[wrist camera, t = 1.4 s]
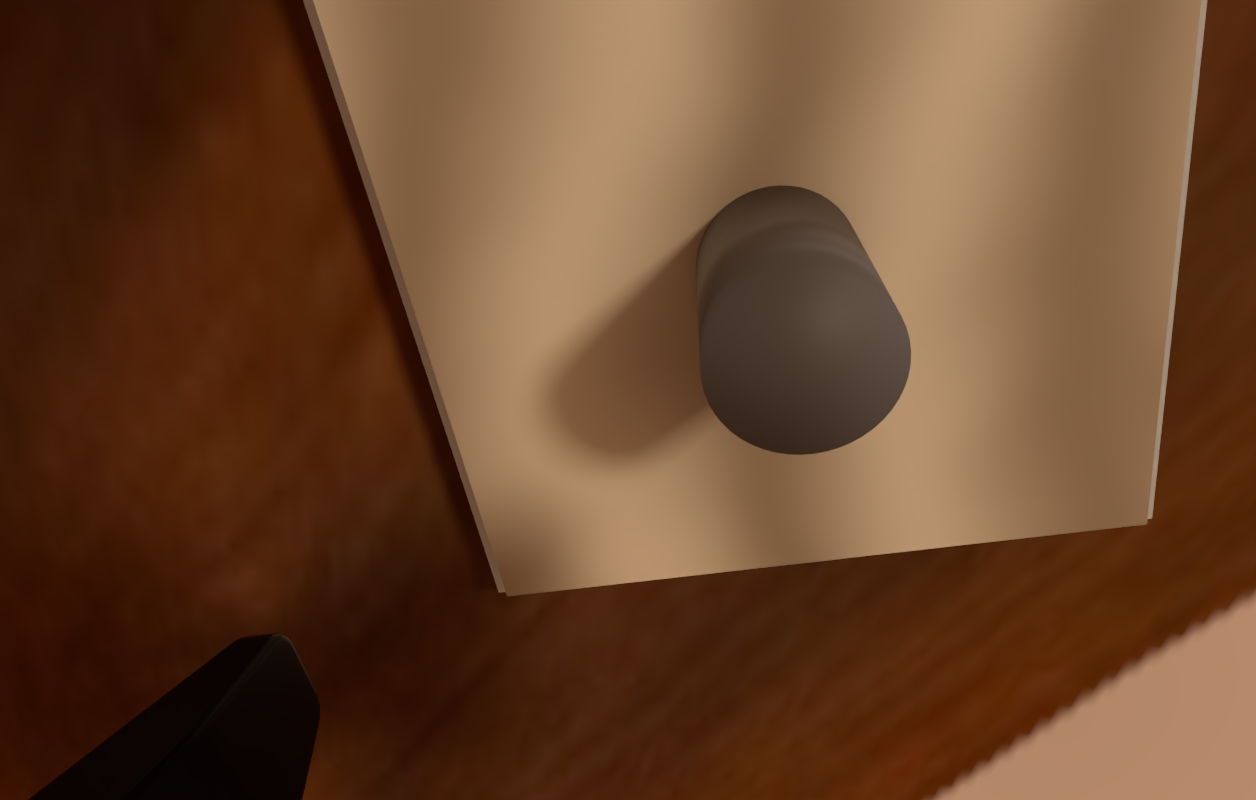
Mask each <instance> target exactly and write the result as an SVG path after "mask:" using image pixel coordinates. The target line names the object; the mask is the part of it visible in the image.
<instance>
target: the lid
mask: <svg viewBox="0 0 1256 800" xmlns="http://www.w3.org/2000/svg"><path fill="white" fill-rule="evenodd" d="M313 2H314V5H315V8H316V11H317V14H318V17H319V20H320V23H321V26H322V29H323V32H324V36H325V39H326V42H327V45H328V48H329V51H330V54H331V57H332V60H333V63H334V66H335V69H336V72H337V75H338V79H339V82H340V85H341V88H342V91H343V94H344V97H345V100H346V103H347V106H348V109H349V112H350V115H351V118H352V122H353V125H354V128H355V131H356V134H357V137H358V140H359V143H360V146H361V149H362V152H363V155H364V158H365V161H366V165H367V168H368V171H369V174H370V177H371V180H372V183H373V186H374V189H375V192H376V195H377V198H378V201H379V204H380V208H381V211H382V214H383V217H384V220H385V223H386V226H387V229H388V232H389V235H390V238H391V241H392V244H393V247H394V251H395V254H396V257H397V260H398V263H399V266H400V269H401V272H402V275H403V278H404V281H405V284H406V287H407V290H408V294H409V297H410V300H411V303H412V306H413V309H414V312H415V315H416V318H417V321H418V324H419V327H420V330H421V333H422V337H423V340H424V343H425V346H426V349H427V352H428V355H429V358H430V361H431V364H432V367H433V370H434V373H435V376H436V380H437V383H438V386H439V389H440V392H441V395H442V398H443V401H444V404H445V407H446V410H447V413H448V416H449V419H450V423H451V426H452V429H453V432H454V435H455V438H456V441H457V444H458V447H459V450H460V453H461V456H462V459H463V462H464V466H465V469H466V472H467V475H468V478H469V481H470V484H471V487H472V490H473V493H474V496H475V499H476V502H477V505H478V509H479V512H480V515H481V518H482V521H483V524H484V527H485V530H486V533H487V536H488V539H489V542H490V545H491V549H492V552H493V555H494V558H495V561H496V564H497V567H498V570H499V573H500V576H501V579H502V582H503V585H504V588H505V592H506V595H507V596H516V595H525V594H533V593H542V592H551V591H560V590H569V589H578V588H587V587H595V586H604V585H613V584H622V583H631V582H640V581H649V580H657V579H666V578H675V577H684V576H693V575H702V574H711V573H719V572H728V571H737V570H746V569H755V568H764V567H773V566H781V565H790V564H799V563H808V562H817V561H826V560H835V559H843V558H852V557H861V556H870V555H879V554H888V553H897V552H905V551H914V550H923V549H932V548H941V547H950V546H959V545H967V544H976V543H985V542H994V541H1003V540H1012V539H1021V538H1029V537H1038V536H1047V535H1056V534H1065V533H1074V532H1083V531H1091V530H1100V529H1109V528H1118V527H1127V526H1136V525H1145V524H1147V518H1148V509H1149V499H1150V489H1151V480H1152V470H1153V460H1154V451H1155V441H1156V431H1157V422H1158V412H1159V402H1160V393H1161V383H1162V374H1163V364H1164V354H1165V345H1166V335H1167V325H1168V316H1169V306H1170V296H1171V287H1172V277H1173V267H1174V258H1175V248H1176V239H1177V229H1178V219H1179V210H1180V200H1181V190H1182V181H1183V171H1184V161H1185V152H1186V142H1187V132H1188V123H1189V113H1190V104H1191V94H1192V84H1193V75H1194V65H1195V55H1196V46H1197V36H1198V26H1199V17H1200V7H1201V0H313Z"/></svg>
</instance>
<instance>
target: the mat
mask: <svg viewBox="0 0 1256 800" xmlns="http://www.w3.org/2000/svg"><path fill="white" fill-rule="evenodd" d="M303 2H304V5H305V8H306V11H307V14H308V17H309V20H310V23H311V26H312V29H313V32H314V35H315V38H316V41H317V44H318V47H319V50H320V53H321V56H322V59H323V62H324V65H325V68H326V71H327V74H328V77H329V80H330V83H331V86H332V89H333V93H334V96H335V99H336V102H337V105H338V108H339V111H340V114H341V117H342V120H343V123H344V126H345V129H346V132H347V135H348V138H349V141H350V144H351V147H352V150H353V153H354V156H355V159H356V162H357V165H358V168H359V171H360V174H361V177H362V180H363V183H364V186H365V189H366V192H367V195H368V198H369V201H370V205H371V208H372V211H373V214H374V217H375V220H376V223H377V226H378V229H379V232H380V235H381V238H382V241H383V244H384V247H385V250H386V253H387V256H388V259H389V262H390V265H391V268H392V271H393V274H394V277H395V280H396V283H397V286H398V289H399V292H400V295H401V298H402V301H403V304H404V307H405V310H406V313H407V316H408V320H409V323H410V326H411V329H412V332H413V335H414V338H415V341H416V344H417V347H418V350H419V353H420V356H421V359H422V362H423V365H424V368H425V371H426V374H427V377H428V380H429V383H430V386H431V389H432V392H433V395H434V398H435V401H436V404H437V407H438V410H439V413H440V416H441V419H442V422H443V425H444V428H445V432H446V435H447V438H448V441H449V444H450V447H451V450H452V453H453V456H454V459H455V462H456V465H457V468H458V471H459V474H460V477H461V480H462V483H463V486H464V489H465V492H466V495H467V498H468V501H469V504H470V507H471V510H472V513H473V516H474V519H475V522H476V525H477V528H478V531H479V534H480V537H481V540H482V543H483V547H484V550H485V553H486V556H487V559H488V562H489V565H490V568H491V571H492V574H493V577H494V580H495V583H496V586H497V589H498V592H499V593H500V592H505V588H504V585H503V582H502V579H501V576H500V573H499V570H498V567H497V564H496V561H495V558H494V555H493V552H492V549H491V545H490V542H489V539H488V536H487V533H486V530H485V527H484V524H483V521H482V518H481V515H480V512H479V509H478V505H477V502H476V499H475V496H474V493H473V490H472V487H471V484H470V481H469V478H468V475H467V472H466V469H465V466H464V462H463V459H462V456H461V453H460V450H459V447H458V444H457V441H456V438H455V435H454V432H453V429H452V426H451V423H450V419H449V416H448V413H447V410H446V407H445V404H444V401H443V398H442V395H441V392H440V389H439V386H438V383H437V380H436V376H435V373H434V370H433V367H432V364H431V361H430V358H429V355H428V352H427V349H426V346H425V343H424V340H423V337H422V333H421V330H420V327H419V324H418V321H417V318H416V315H415V312H414V309H413V306H412V303H411V300H410V297H409V294H408V290H407V287H406V284H405V281H404V278H403V275H402V272H401V269H400V266H399V263H398V260H397V257H396V254H395V251H394V247H393V244H392V241H391V238H390V235H389V232H388V229H387V226H386V223H385V220H384V217H383V214H382V211H381V208H380V204H379V201H378V198H377V195H376V192H375V189H374V186H373V183H372V180H371V177H370V174H369V171H368V168H367V165H366V161H365V158H364V155H363V152H362V149H361V146H360V143H359V140H358V137H357V134H356V131H355V128H354V125H353V122H352V118H351V115H350V112H349V109H348V106H347V103H346V100H345V97H344V94H343V91H342V88H341V85H340V82H339V79H338V75H337V72H336V69H335V66H334V63H333V60H332V57H331V54H330V51H329V48H328V45H327V42H326V39H325V36H324V32H323V29H322V26H321V23H320V20H319V17H318V14H317V11H316V8H315V5H314V2H313V0H303ZM1206 7H1207V0H1201V7H1200V17H1199V26H1198V36H1197V46H1196V55H1195V65H1194V75H1193V84H1192V94H1191V104H1190V113H1189V123H1188V132H1187V142H1186V152H1185V161H1184V171H1183V181H1182V190H1181V200H1180V210H1179V219H1178V229H1177V239H1176V248H1175V258H1174V267H1173V277H1172V287H1171V296H1170V306H1169V316H1168V325H1167V335H1166V345H1165V354H1164V364H1163V374H1162V383H1161V393H1160V402H1159V412H1158V422H1157V431H1156V441H1155V451H1154V460H1153V470H1152V480H1151V489H1150V499H1149V509H1148V518H1147V519H1151V518H1152V514H1153V504H1154V495H1155V486H1156V476H1157V467H1158V458H1159V448H1160V439H1161V429H1162V420H1163V411H1164V401H1165V392H1166V382H1167V373H1168V364H1169V354H1170V345H1171V336H1172V326H1173V317H1174V307H1175V298H1176V289H1177V279H1178V270H1179V261H1180V251H1181V242H1182V232H1183V223H1184V214H1185V204H1186V195H1187V186H1188V176H1189V167H1190V157H1191V148H1192V139H1193V129H1194V120H1195V110H1196V101H1197V92H1198V82H1199V73H1200V64H1201V54H1202V45H1203V35H1204V26H1205V17H1206Z"/></svg>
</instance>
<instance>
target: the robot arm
mask: <svg viewBox="0 0 1256 800" xmlns="http://www.w3.org/2000/svg"><path fill="white" fill-rule="evenodd" d="M319 719H320V704H319V699H318V695H317V693H316V690H315V688H314V686H313V684H312V682H311V680H310V678H309V676H308V674H307V672H306V670H305V668H304V666H303V664H302V662H301V660H300V658H299V656H298V654H297V652H296V650H295V647H294V645H293V644H292V642H291V640H290V639H288V638H287V637H286V636H285V635H283V634H279V633H272V634H264V635H255V636H247V637H243V638H240V639H238V640H236V641H235V642H233V643H232V644H230V645H229V646H228V647H226V648H225V649H224V650H223V651H221V652H220V653H219V654H217V655H216V656H215V657H213V658H212V659H211V660H210V661H208V662H207V663H206V664H204V665H203V666H202V667H200V668H199V669H198V670H197V671H195V672H194V673H193V674H191V675H190V676H189V677H187V678H186V679H185V680H184V681H182V682H181V683H180V684H178V685H177V686H176V687H174V688H173V689H172V690H170V691H169V692H168V693H167V694H165V695H164V696H163V697H161V698H160V699H159V700H157V701H156V702H155V703H154V704H152V705H151V706H150V707H148V708H147V709H146V710H144V711H143V712H142V713H141V714H139V715H138V716H137V717H135V718H134V719H133V720H131V721H130V722H129V723H127V724H126V725H125V726H124V727H122V728H121V729H120V730H118V731H117V732H116V733H114V734H113V735H112V736H111V737H109V738H108V739H107V740H105V741H104V742H103V743H101V744H100V745H99V746H98V747H96V748H95V749H94V750H92V751H91V752H90V753H88V754H87V755H86V756H85V757H83V758H82V759H81V760H79V761H78V762H77V763H75V764H74V765H73V766H71V767H70V768H69V769H68V770H66V771H65V772H64V773H62V774H61V775H60V776H58V777H57V778H56V779H55V780H53V781H52V782H51V783H49V784H48V785H47V786H45V787H44V788H43V789H42V790H40V791H39V792H38V793H36V794H35V795H34V796H32V797H31V798H30V799H28V800H302V798H303V793H304V789H305V784H306V780H307V775H308V771H309V766H310V762H311V757H312V753H313V748H314V744H315V739H316V735H317V730H318V725H319Z"/></svg>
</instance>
